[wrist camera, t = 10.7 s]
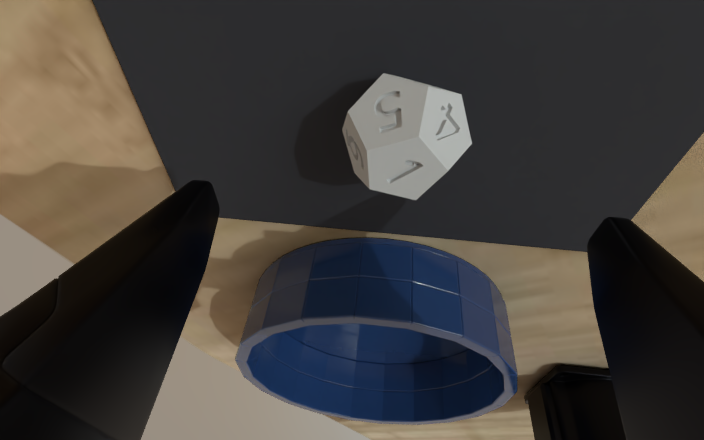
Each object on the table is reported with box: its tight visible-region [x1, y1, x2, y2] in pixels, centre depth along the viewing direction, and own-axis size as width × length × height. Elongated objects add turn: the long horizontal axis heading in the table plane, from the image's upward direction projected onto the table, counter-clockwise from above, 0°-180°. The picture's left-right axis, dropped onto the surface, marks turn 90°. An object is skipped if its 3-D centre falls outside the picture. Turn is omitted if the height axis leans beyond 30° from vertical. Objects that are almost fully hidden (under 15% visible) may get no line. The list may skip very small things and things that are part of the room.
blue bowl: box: [235, 238, 517, 425], centre depth 22 cm, size 14×14×4 cm
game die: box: [342, 73, 472, 200], centre depth 11 cm, size 4×4×3 cm
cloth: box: [92, 0, 704, 252], centre depth 12 cm, size 18×13×1 cm
